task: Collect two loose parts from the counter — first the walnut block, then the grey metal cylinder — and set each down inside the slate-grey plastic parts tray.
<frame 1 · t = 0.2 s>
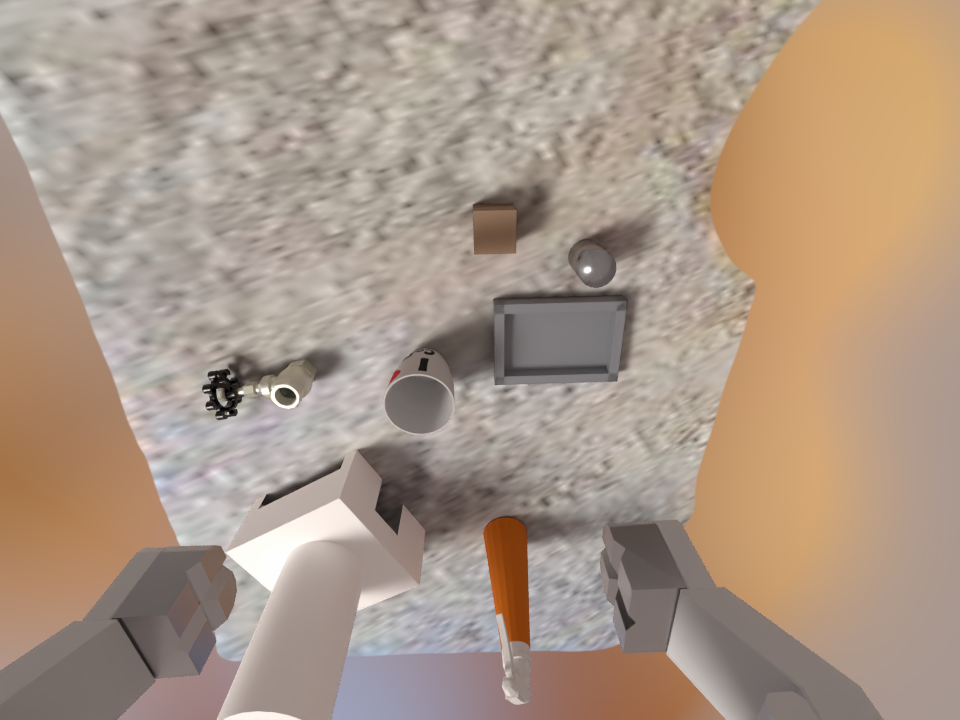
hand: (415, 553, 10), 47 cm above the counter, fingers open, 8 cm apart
walnut block: (492, 224, 53), on the counter
white cylinder stand: (343, 514, 72), on the counter
metal cylinder: (585, 256, 55), on the counter
parts tray: (555, 337, 59), on the counter
valve: (275, 374, 61), on the counter
cup: (426, 364, 61), on the counter
spray bottle: (501, 523, 74), on the counter
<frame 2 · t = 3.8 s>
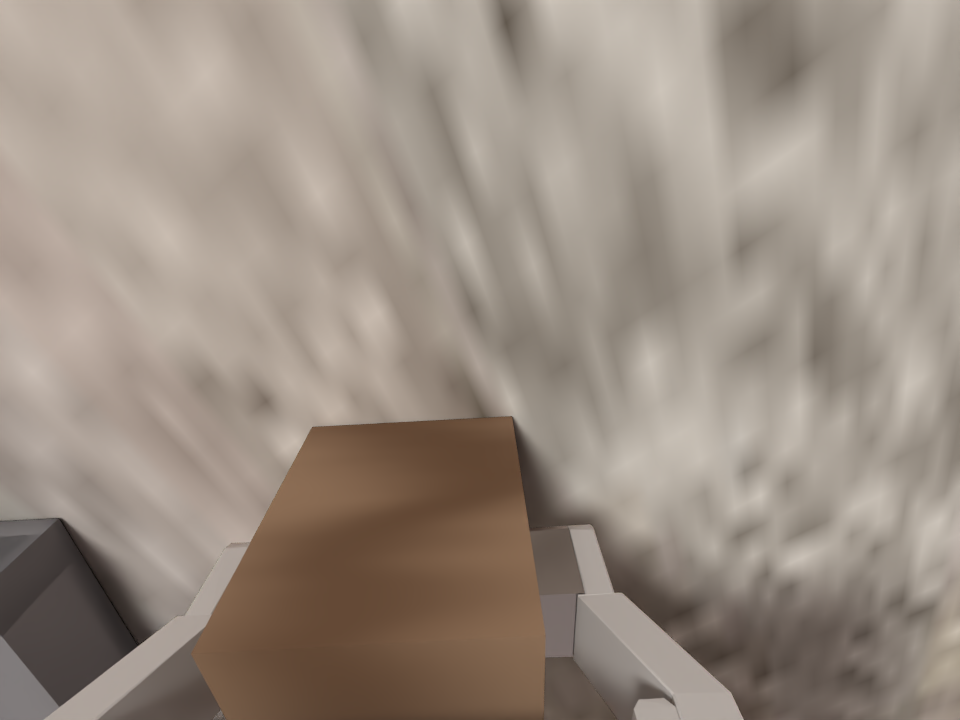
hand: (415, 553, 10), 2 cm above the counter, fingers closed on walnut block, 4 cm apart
walnut block: (422, 497, 11), on the counter, touching gripper
parts tray: (2, 709, 15), on the counter
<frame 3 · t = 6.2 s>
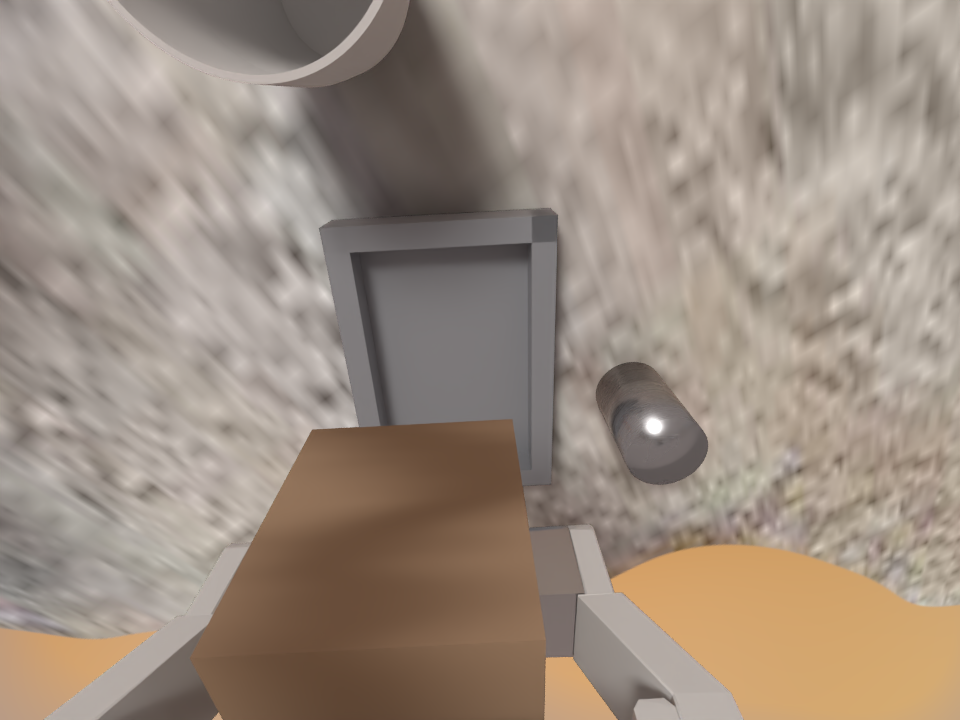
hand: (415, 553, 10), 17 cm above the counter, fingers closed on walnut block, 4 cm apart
walnut block: (422, 500, 11), point 15 cm above the counter, touching gripper
metal cylinder: (628, 391, 28), on the counter
parts tray: (453, 356, 27), on the counter
when the fingers open (4 cm above the counter, at t = 8.9 s): walnut block drops 1 cm, resting on parts tray.
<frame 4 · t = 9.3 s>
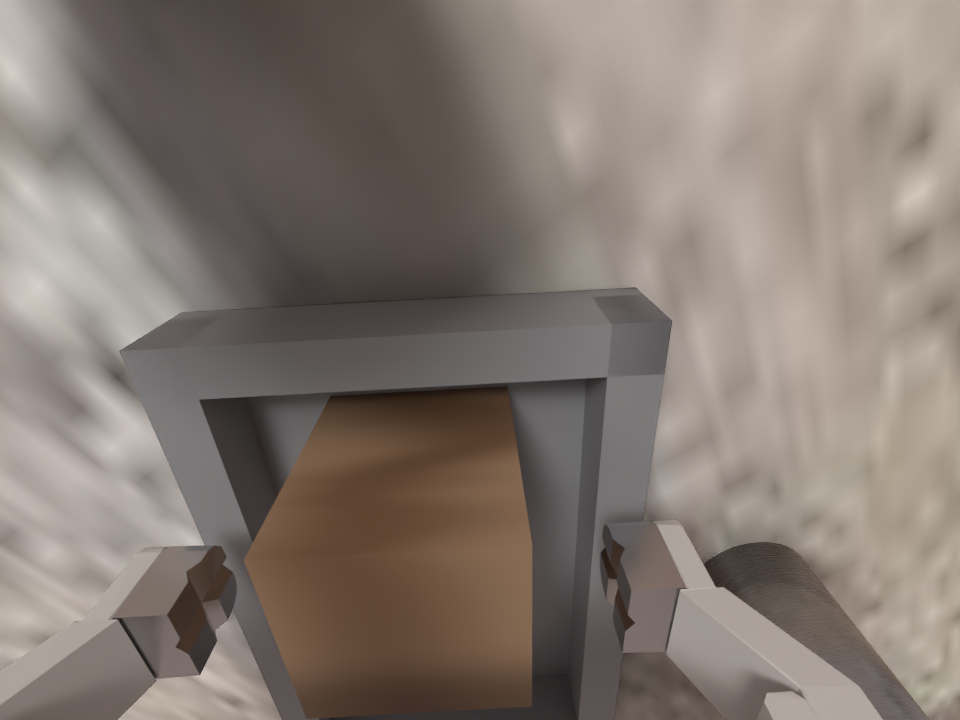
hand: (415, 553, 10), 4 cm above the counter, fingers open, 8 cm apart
walnut block: (427, 461, 13), resting on parts tray
metal cylinder: (746, 583, 16), on the counter
parts tray: (438, 538, 15), on the counter
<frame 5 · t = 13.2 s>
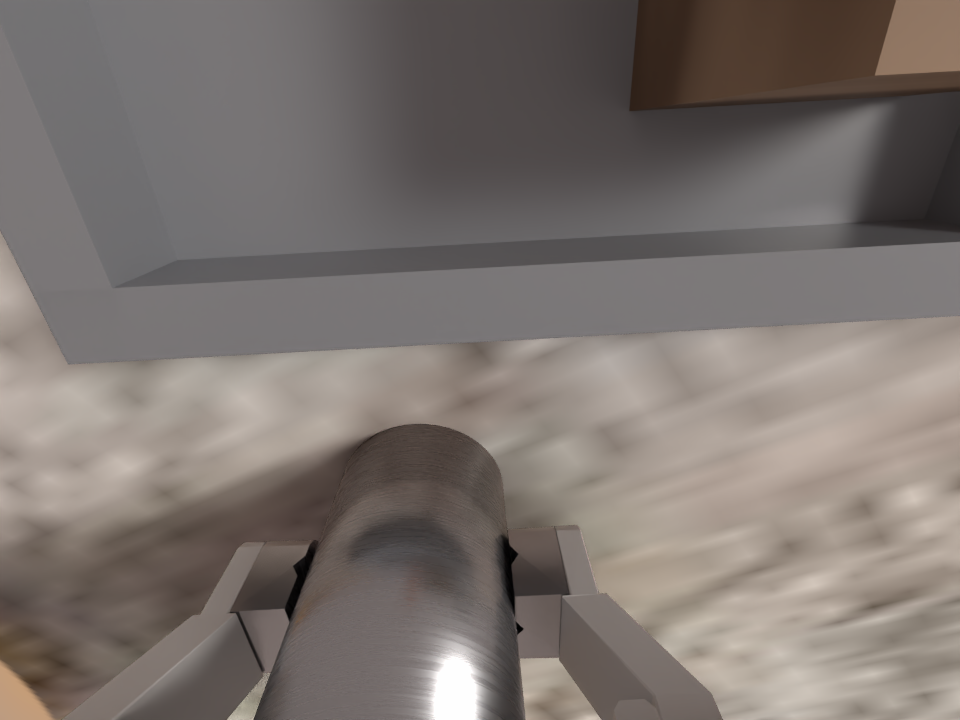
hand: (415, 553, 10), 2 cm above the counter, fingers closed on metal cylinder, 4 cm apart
metal cylinder: (423, 490, 12), on the counter, touching gripper
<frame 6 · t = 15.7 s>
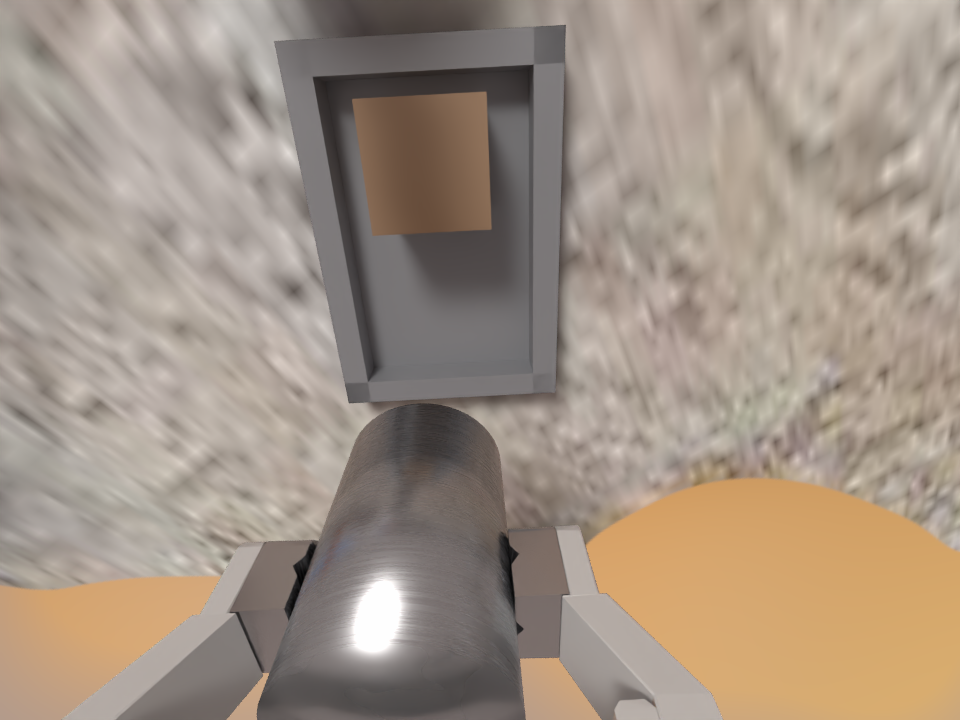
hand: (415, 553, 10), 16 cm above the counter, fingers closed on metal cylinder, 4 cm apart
walnut block: (435, 160, 21), resting on parts tray
metal cylinder: (426, 467, 12), point 13 cm above the counter, touching gripper
parts tray: (441, 236, 23), on the counter
when the fingers open (4 cm above the counter, at t = 18.1 s): metal cylinder stays where it is, resting on parts tray.
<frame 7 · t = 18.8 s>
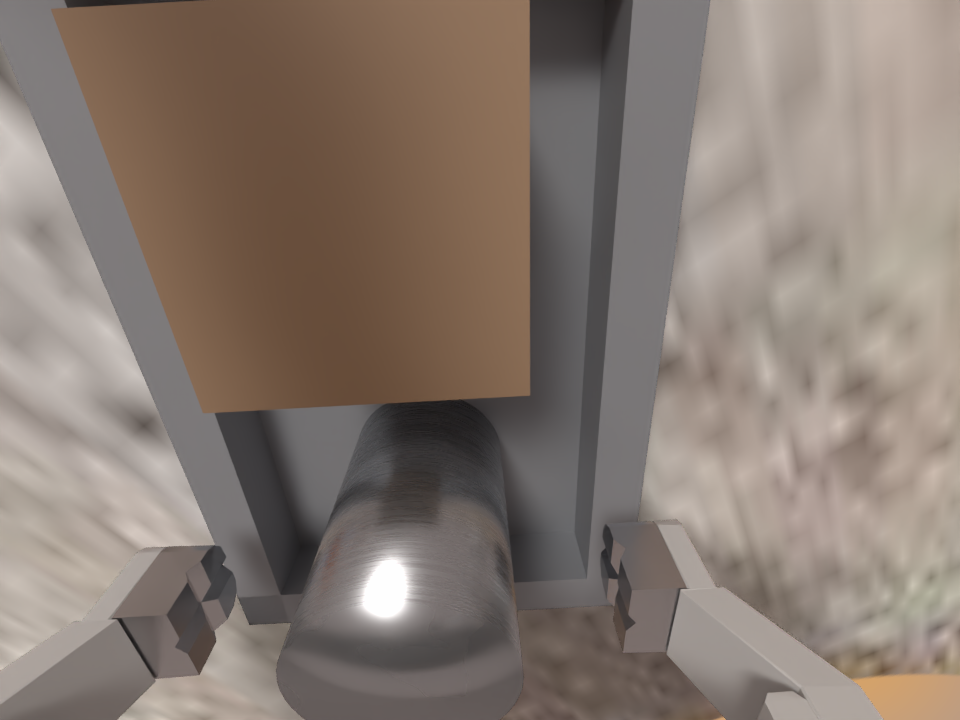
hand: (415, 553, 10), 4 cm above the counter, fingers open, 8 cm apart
walnut block: (396, 191, 10), resting on parts tray
metal cylinder: (429, 453, 13), resting on parts tray
parts tray: (414, 332, 12), on the counter
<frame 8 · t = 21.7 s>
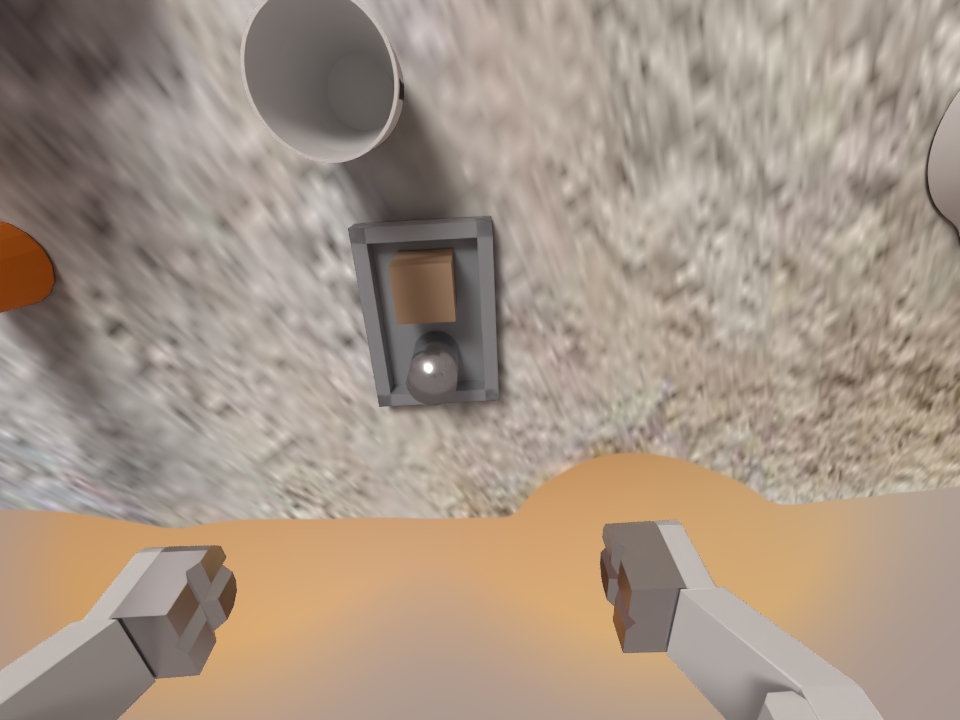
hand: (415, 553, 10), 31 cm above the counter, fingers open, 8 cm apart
walnut block: (428, 276, 38), resting on parts tray
metal cylinder: (436, 351, 41), resting on parts tray
parts tray: (432, 313, 40), on the counter
cup: (361, 93, 33), on the counter
spray bottle: (30, 254, 38), on the counter
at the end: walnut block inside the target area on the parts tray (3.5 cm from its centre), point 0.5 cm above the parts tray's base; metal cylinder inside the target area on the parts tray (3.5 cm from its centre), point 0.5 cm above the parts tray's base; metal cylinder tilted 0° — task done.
